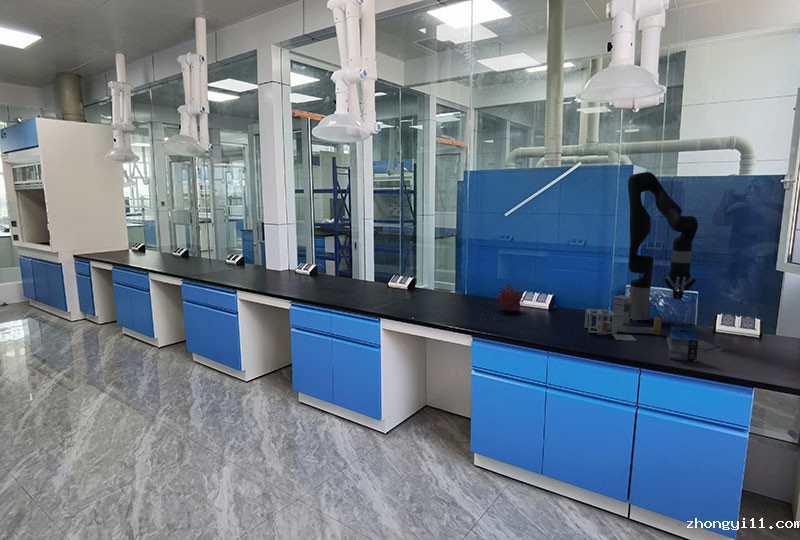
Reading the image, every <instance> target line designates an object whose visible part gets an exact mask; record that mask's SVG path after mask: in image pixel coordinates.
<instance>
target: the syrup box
mask: <svg viewBox="0 0 800 540" xmlns="http://www.w3.org/2000/svg"><path fill="white" fill-rule="evenodd" d="M612 308H613V309H612V312H613V313H614V314H615V315H616V316H615V324H616V325H617V326H627V327H631V326H630V325H631V319H630V313H631V297H630V296H628V295H622V294H621V295H617V296H615V295H614V296H613V305H612Z"/></svg>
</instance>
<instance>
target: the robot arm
mask: <svg viewBox="0 0 800 540" xmlns="http://www.w3.org/2000/svg"><path fill="white" fill-rule="evenodd" d="M627 191H628V200H629V255H628V270H629V272H631V273H632V274H640V275H641V274H642V277H639V278H634V279H632V280H630V286H629V297H631V313H630V320H631V319H632V320H631V321H637V320H640V321H639V322H642V321H641V320H649V321H650V316H651V303H652V302H651V301H650V299H651V285H652V277H653V272H654V271H653V270H654V263H655V260H654V257H653V256H650V255H639V254H638V253H639V249H640V247H641V245H642V243H643V242H644V241H645V240H646V239H647V237H648V236H649V234H650V232H651V228H652V227H651V225H652V224H651V222H652V221H651V216H650V213H649V212H648V211H647V209H646V208H645V206H644V205H643V203H642V193H645V192H648V191H649V192H650V193H652V195H654V197H655V198H654V199H655V206H656V208H657V211H659V212H660V213H661V215H662V216H664V217H665V218H666V221H667V223H668V226H669V227H670V228H671V229H672V230H673V231H675V232H677V233H680V236H678V237H676V238H674V239H673V246H672V253H671V258H670V266H669V267H670V270H669V273H668V275H667V276H666V277H662V280H663V282H664V283H665V285H666V286H667V288H668V289H669V290H671V291H672V298H673V300H682V299H683V297H684V292H685V291H688V290H689V289H690V288H691V287H692V286H693V285H694V283H696V282H697V279H696V278H693V277H692V276H691V274H690V273H691V267H692V266H691V263H692V249H693V248H692V246H693V241H694V239H695V237H696V233H697V231H698V228H699V223H698V220H697V218H696V217H695V216H693V215H682V212H683V210H682V208H681V207H680V205H678V204H677V203H676V202H675V201H674V200H673V198H671V197H670V195H669V194H668V193H667V191H666V189H665V188H664V187H663V186H662V184H661V183H660V181H659V179H657V177H656V176H655V174H654V173H652V172H650V171H645V172H638V173H633V174H631V175H630V176H629V177H628V180H627ZM671 282H672V284H671Z"/></svg>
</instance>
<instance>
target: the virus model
mask: <svg viewBox="0 0 800 540" xmlns="http://www.w3.org/2000/svg"><path fill="white" fill-rule="evenodd" d="M505 287H506V288H505ZM517 288H518V287H516V285H512V284H506V285H504V286H501V287H500V290H497V292H498V293H499V294H498V295H497V296H496V300H497V301H498V302H497V305H499V307H500V308H501V309H503V308H505V309H504V312H510V313H511V312H513V311H514V312H515V311H518V310H519V308H520V306H521V305H523V304H522V303H524V301H525V300H524V299H525V298H524V296H523V292H522V290H521V291H520V288H518V289H517Z"/></svg>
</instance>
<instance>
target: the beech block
mask: <svg viewBox="0 0 800 540" xmlns="http://www.w3.org/2000/svg"><path fill="white" fill-rule="evenodd" d="M600 321H601V319H599V320H597V329H596V331H600ZM611 324H612V321H611V320H610V321H608V320H604V319H603V332H611Z"/></svg>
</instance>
